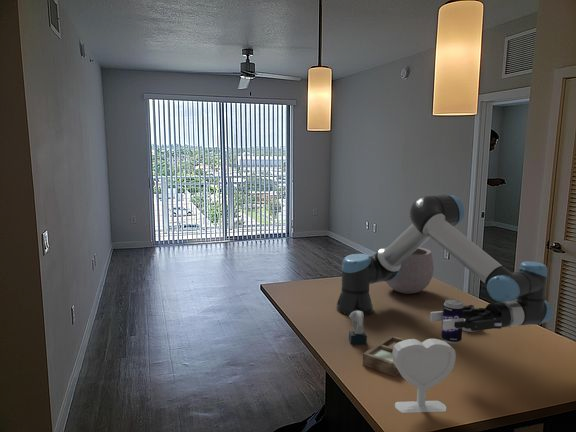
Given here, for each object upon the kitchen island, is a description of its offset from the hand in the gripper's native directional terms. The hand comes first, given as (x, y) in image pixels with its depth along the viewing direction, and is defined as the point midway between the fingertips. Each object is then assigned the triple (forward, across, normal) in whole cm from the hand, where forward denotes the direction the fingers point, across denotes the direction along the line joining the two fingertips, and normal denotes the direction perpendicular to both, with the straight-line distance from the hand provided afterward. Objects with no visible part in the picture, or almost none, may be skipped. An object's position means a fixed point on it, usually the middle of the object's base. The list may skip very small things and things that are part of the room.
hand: (437, 320), depth 129 cm
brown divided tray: (+6, +13, -18) cm, 23 cm away
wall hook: (-35, +32, -18) cm, 50 cm away
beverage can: (-5, 0, -7) cm, 9 cm away
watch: (+12, +29, -18) cm, 36 cm away
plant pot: (-35, +77, -18) cm, 86 cm away
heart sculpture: (+12, -13, -18) cm, 25 cm away
